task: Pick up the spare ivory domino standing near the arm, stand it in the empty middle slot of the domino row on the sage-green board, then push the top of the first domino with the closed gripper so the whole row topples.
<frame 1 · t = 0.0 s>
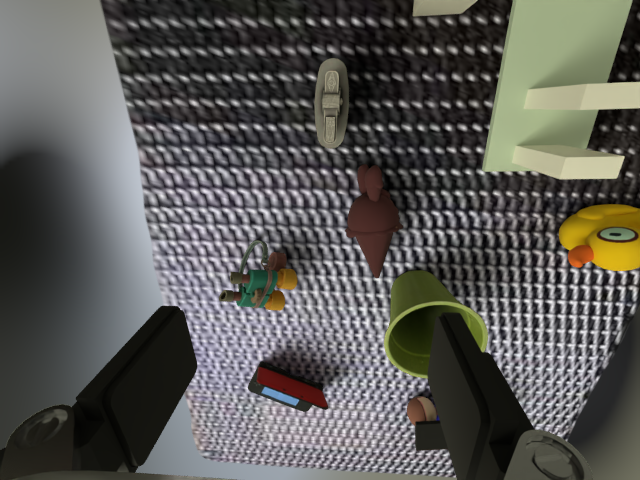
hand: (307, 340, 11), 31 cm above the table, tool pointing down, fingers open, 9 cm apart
handheld game console: (289, 378, 56), on the table
domino 5: (535, 153, 36), point 1 cm above the table, touching board
icecream: (371, 214, 42), on the table
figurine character: (448, 397, 55), on the table
plant pot: (415, 289, 46), on the table
domino 4: (549, 98, 34), point 1 cm above the table, touching board
lighter: (334, 105, 37), on the table
binoculars: (270, 264, 46), on the table
domino 3: (438, 3, 32), on the table
duckling: (577, 221, 40), on the table
board: (560, 36, 32), on the table
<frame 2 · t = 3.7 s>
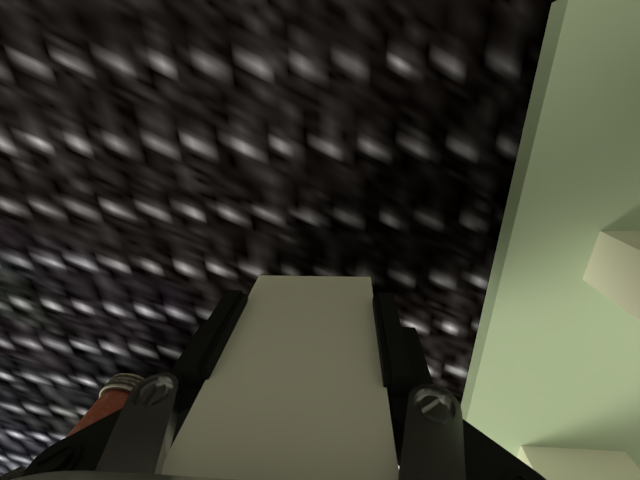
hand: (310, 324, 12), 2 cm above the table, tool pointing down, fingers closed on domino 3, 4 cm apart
domino 4: (566, 460, 16), point 1 cm above the table, touching board
lighter: (145, 417, 19), on the table
domino 3: (314, 294, 14), on the table, touching gripper
board: (593, 362, 14), on the table
when the fingers open (4 cm above the table, at t = 9.3 s): domino 3 drops 1 cm, resting on board.
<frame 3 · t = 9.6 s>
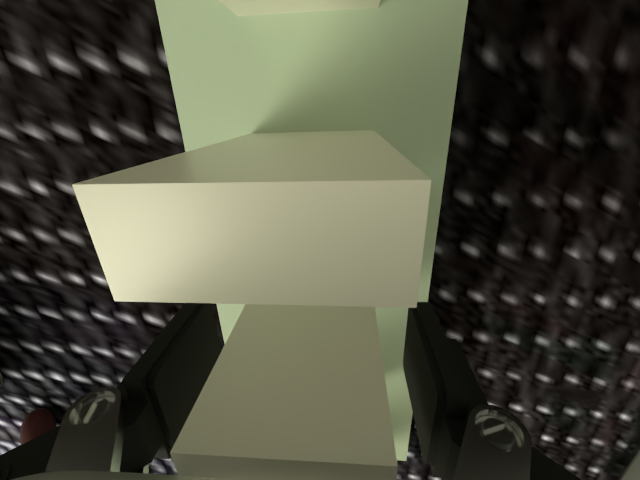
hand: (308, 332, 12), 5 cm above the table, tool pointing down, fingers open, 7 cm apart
icecream: (89, 460, 25), on the table
domino 3: (317, 280, 15), point 1 cm above the table, touching board
domino 2: (312, 156, 13), point 1 cm above the table, touching board
board: (318, 271, 16), on the table
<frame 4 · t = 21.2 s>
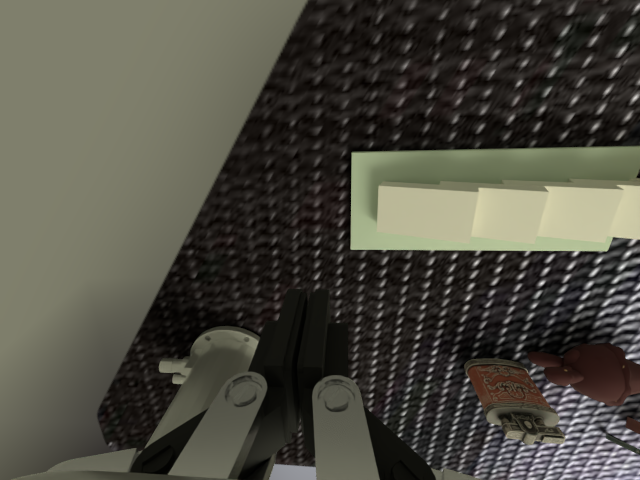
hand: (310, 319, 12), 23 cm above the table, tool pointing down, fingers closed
icecream: (581, 351, 40), on the table
domino 4: (564, 205, 31), point 2 cm above the table, tilted 70°, touching board, domino 3, domino 5
lighter: (493, 366, 42), on the table
domino 1: (380, 206, 32), point 2 cm above the table, tilted 70°, touching board, domino 2
binoculars: (636, 423, 44), on the table
domino 3: (498, 205, 31), point 2 cm above the table, tilted 71°, touching board, domino 2, domino 4
domino 2: (436, 206, 32), point 2 cm above the table, tilted 71°, touching board, domino 1, domino 3
board: (480, 201, 33), on the table
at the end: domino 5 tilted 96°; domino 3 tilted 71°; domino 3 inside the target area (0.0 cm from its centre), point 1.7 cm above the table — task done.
